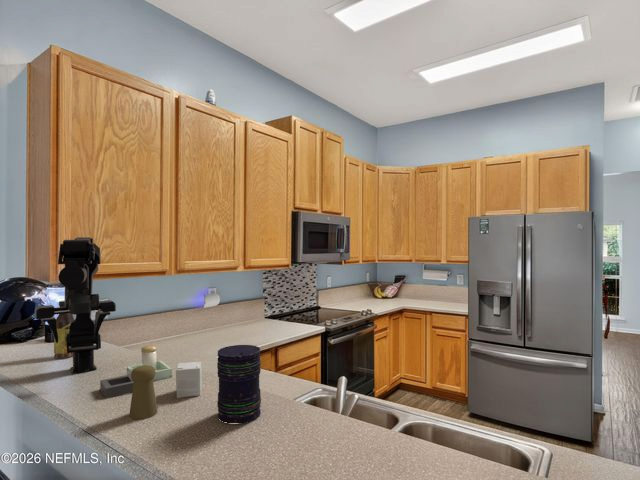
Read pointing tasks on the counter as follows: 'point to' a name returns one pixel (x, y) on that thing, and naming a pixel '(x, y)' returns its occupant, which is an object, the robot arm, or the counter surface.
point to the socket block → (116, 386)
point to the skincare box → (188, 379)
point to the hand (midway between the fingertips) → (76, 339)
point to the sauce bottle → (62, 333)
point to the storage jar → (239, 383)
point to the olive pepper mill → (143, 393)
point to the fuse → (149, 356)
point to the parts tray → (161, 372)
